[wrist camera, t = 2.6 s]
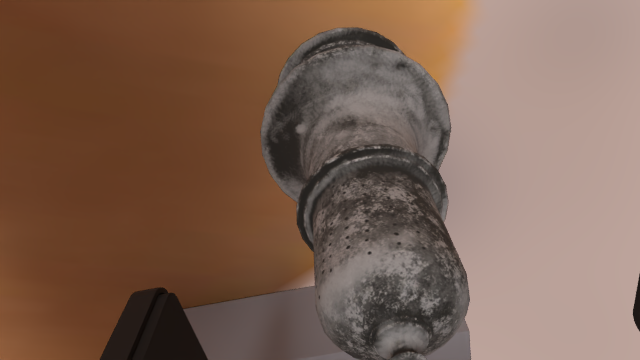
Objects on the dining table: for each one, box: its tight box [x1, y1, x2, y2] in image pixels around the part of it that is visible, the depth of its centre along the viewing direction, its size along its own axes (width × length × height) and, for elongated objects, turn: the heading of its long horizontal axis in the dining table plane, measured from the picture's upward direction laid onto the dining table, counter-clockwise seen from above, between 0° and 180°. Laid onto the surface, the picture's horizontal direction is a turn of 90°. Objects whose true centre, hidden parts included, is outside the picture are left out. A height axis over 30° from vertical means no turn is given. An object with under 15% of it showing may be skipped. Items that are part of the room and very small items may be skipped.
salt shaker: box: [260, 28, 470, 360], centre depth 12 cm, size 6×6×12 cm
